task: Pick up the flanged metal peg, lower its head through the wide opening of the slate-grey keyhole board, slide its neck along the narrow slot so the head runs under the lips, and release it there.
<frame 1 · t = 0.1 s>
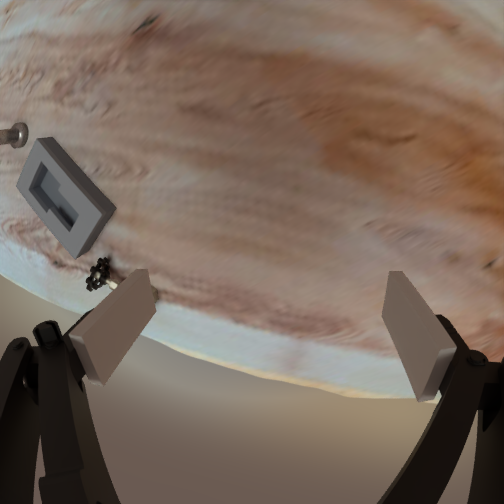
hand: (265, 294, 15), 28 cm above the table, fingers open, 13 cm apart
flanged metal peg: (21, 134, 42), on the table
keyhole board: (67, 193, 45), on the table
valve: (132, 281, 50), on the table
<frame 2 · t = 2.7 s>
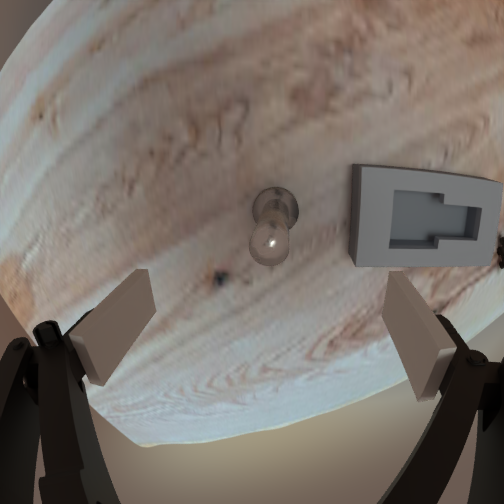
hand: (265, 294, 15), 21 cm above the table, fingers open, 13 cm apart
flanged metal peg: (276, 208, 35), on the table
keyhole board: (424, 212, 32), on the table
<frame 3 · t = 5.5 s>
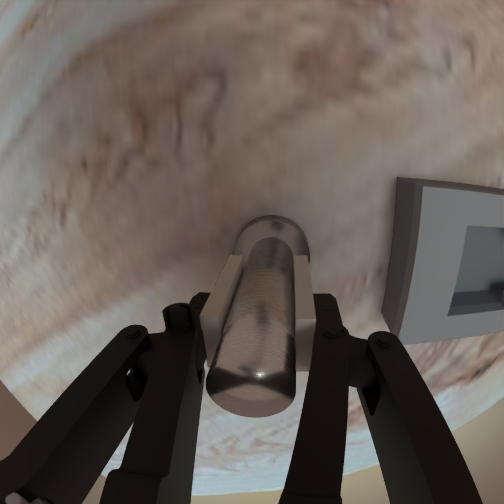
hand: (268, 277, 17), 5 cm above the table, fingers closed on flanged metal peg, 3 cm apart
flanged metal peg: (272, 250, 22), on the table, touching gripper
keyhole board: (487, 250, 19), on the table
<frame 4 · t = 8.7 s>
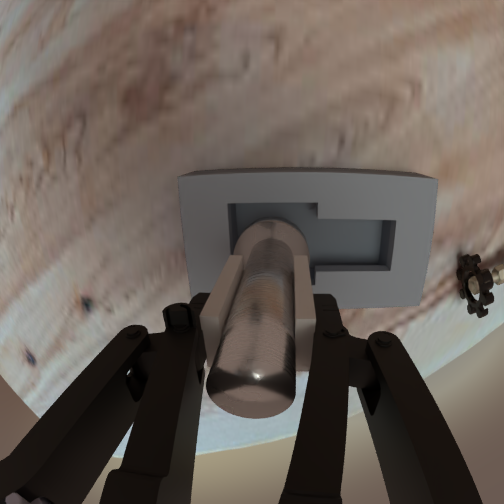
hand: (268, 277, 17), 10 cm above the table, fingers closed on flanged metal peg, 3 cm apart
flanged metal peg: (272, 251, 22), point 5 cm above the table, touching gripper
keyhole board: (309, 229, 26), on the table
valve: (494, 257, 25), on the table
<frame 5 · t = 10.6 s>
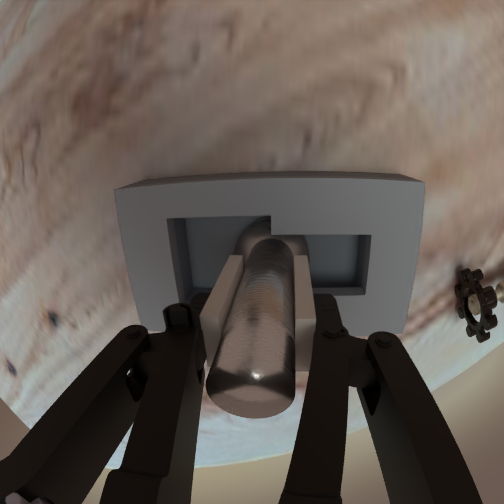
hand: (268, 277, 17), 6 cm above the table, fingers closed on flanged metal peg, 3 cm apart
flanged metal peg: (272, 251, 22), point 1 cm above the table, touching gripper
keyhole board: (271, 244, 23), on the table
valve: (498, 269, 21), on the table
when the fingers open (6 cm above the table, at t = 12.2 s): flanged metal peg stays where it is, resting on keyhole board.
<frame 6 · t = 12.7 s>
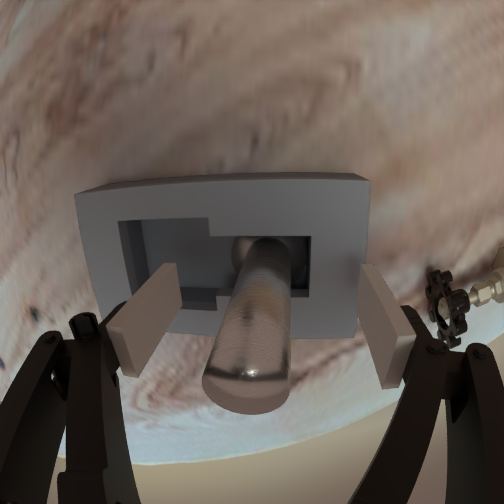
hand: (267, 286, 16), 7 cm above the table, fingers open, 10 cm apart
flanged metal peg: (269, 249, 22), point 1 cm above the table, touching keyhole board
keyhole board: (222, 244, 23), on the table
valve: (475, 271, 22), on the table
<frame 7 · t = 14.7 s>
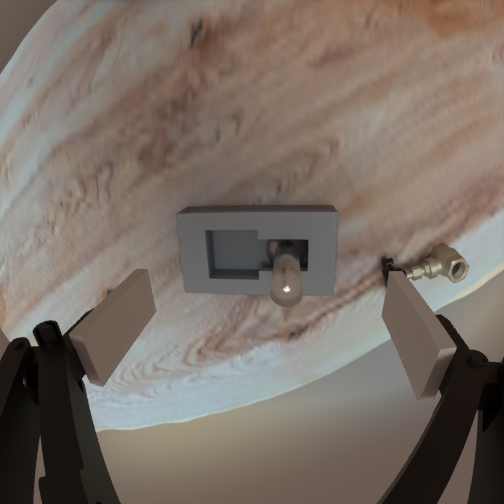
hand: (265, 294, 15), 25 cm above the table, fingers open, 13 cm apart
flanged metal peg: (286, 247, 40), point 1 cm above the table, touching keyhole board
keyhole board: (259, 244, 41), on the table
valve: (417, 260, 39), on the table
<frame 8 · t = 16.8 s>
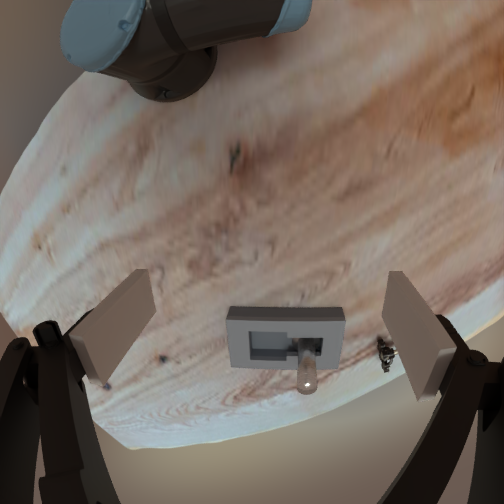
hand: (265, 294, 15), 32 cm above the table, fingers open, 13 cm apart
flanged metal peg: (306, 336, 52), point 1 cm above the table, touching keyhole board
keyhole board: (285, 332, 53), on the table
valve: (404, 337, 52), on the table
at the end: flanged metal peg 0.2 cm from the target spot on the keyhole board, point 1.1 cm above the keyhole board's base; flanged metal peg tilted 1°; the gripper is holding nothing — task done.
